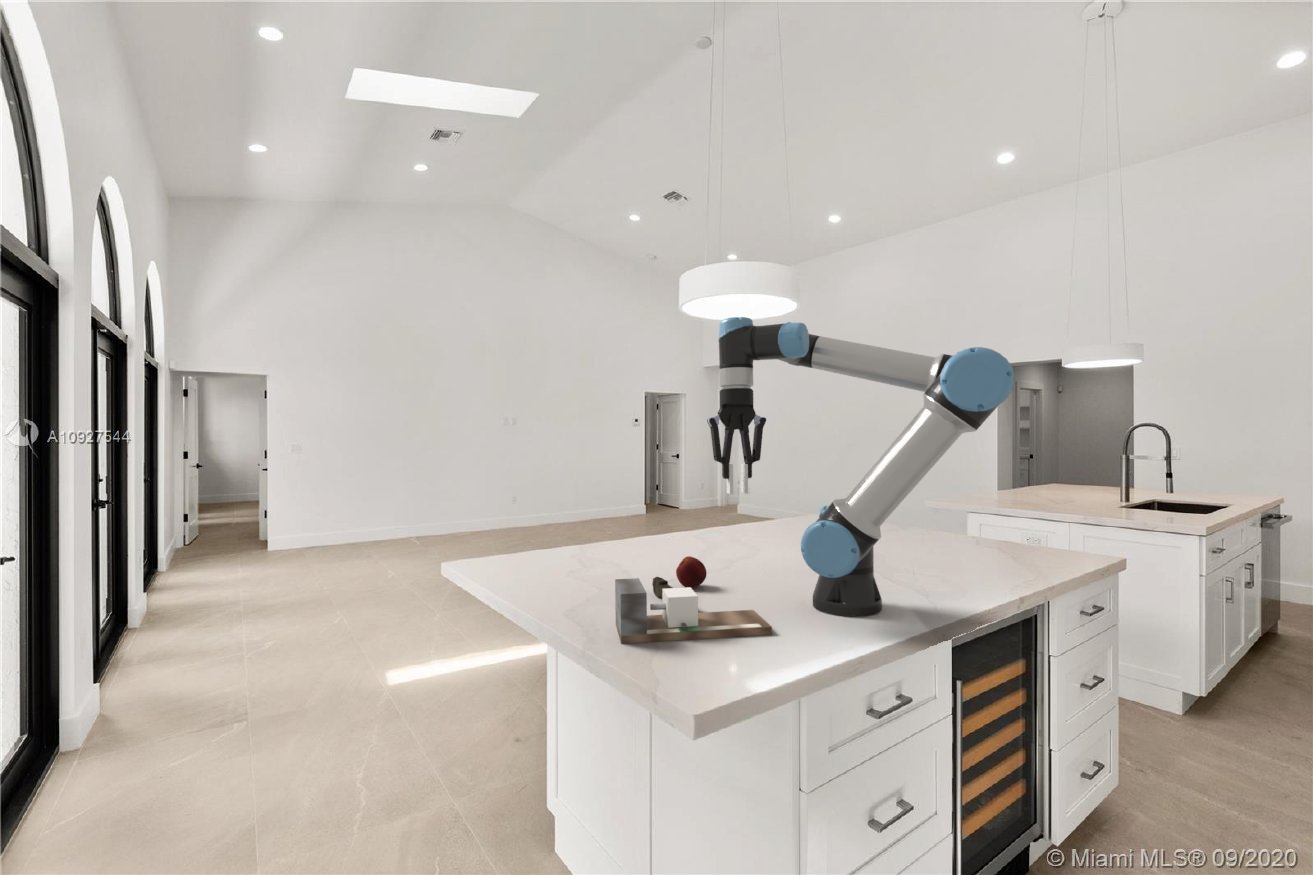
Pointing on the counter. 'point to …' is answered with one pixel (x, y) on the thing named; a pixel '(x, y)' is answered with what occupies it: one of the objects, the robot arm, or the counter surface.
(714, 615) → the gauge board
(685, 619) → the gauge slider
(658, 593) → the hand tool
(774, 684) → the counter surface
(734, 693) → the counter surface
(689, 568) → the apple
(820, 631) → the counter surface
